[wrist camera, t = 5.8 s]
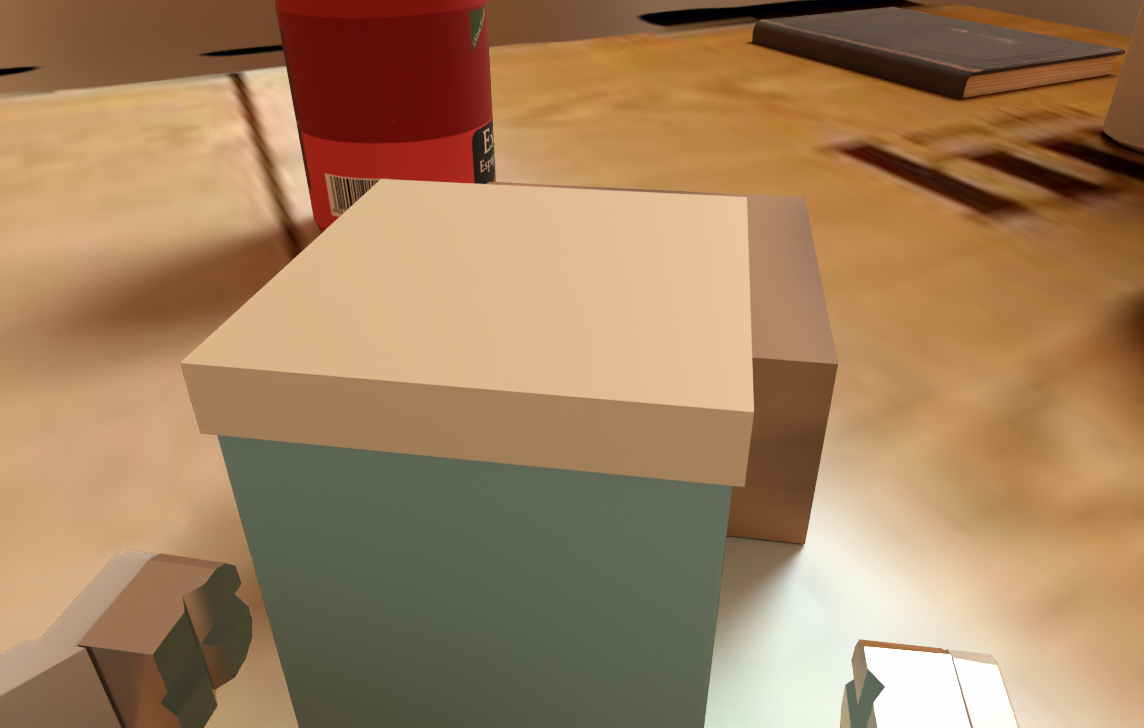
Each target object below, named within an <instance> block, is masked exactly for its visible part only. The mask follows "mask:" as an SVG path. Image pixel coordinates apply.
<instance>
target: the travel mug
mask: <svg viewBox="0 0 1144 728" xmlns="http://www.w3.org/2000/svg"><path fill="white" fill-rule="evenodd" d="M1103 131H1104V132H1105V133H1106V134H1107V135H1109V136H1110V137H1112V139H1113V140H1115V141H1116V142H1117V143H1119V144H1121V145H1123V146H1126V147H1128V148H1131V149H1133V150H1136V151H1139V152H1142V153H1144V1H1143V4H1142V7H1141V10H1140V13H1139V16H1138V20H1137V23H1136V26H1135V29H1134V32H1133V35H1132V38H1131V41H1130V44H1129V48H1128V51H1127V54H1126V57H1125V60H1124V63H1123V66H1122V69H1121V73H1120V76H1119V79H1118V82H1117V85H1116V88H1115V91H1114V94H1113V98H1112V101H1111V104H1110V107H1109V110H1108V113H1107V116H1106V119H1105V122H1104V126H1103Z"/></svg>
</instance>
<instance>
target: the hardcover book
mask: <svg viewBox="0 0 1144 728" xmlns="http://www.w3.org/2000/svg"><path fill="white" fill-rule="evenodd" d="M752 42H754V43H758V44H761V45H765V46H769V47H772V48H776V49H779V50H783V51H787V52H790V53H794V54H798V55H801V56H805V57H809V58H812V59H816V60H820V61H823V62H827V63H830V64H834V65H838V66H841V67H845V68H849V69H852V70H856V71H860V72H863V73H867V74H871V75H874V76H878V77H881V78H885V79H889V80H892V81H896V82H900V83H903V84H907V85H911V86H914V87H918V88H922V89H925V90H929V91H932V92H936V93H940V94H943V95H947V96H951V97H954V98H958V99H963V98H965V97H971V96H977V95H984V94H990V93H996V92H1002V91H1009V90H1015V89H1021V88H1027V87H1034V86H1040V85H1046V84H1052V83H1059V82H1065V81H1071V80H1077V79H1083V78H1090V77H1096V76H1102V75H1108V74H1110V73H1111V72H1112V65H1113V63H1114V61H1115V58H1116V55H1122V54H1124V52H1125V50H1124V49H1119V48H1114V47H1108V46H1103V45H1097V44H1092V43H1086V42H1081V41H1075V40H1070V39H1064V38H1059V37H1053V36H1048V35H1042V34H1037V33H1031V32H1026V31H1020V30H1015V29H1009V28H1004V27H998V26H993V25H987V24H982V23H976V22H971V21H965V20H960V19H954V18H949V17H943V16H938V15H932V14H927V13H921V12H916V11H910V10H905V9H899V8H894V7H890V8H880V9H869V10H859V11H849V12H839V13H828V14H818V15H808V16H798V17H787V18H777V19H767V20H760V21H758V22H757V23H756V25H755V26H754V30H753V41H752Z"/></svg>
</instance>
